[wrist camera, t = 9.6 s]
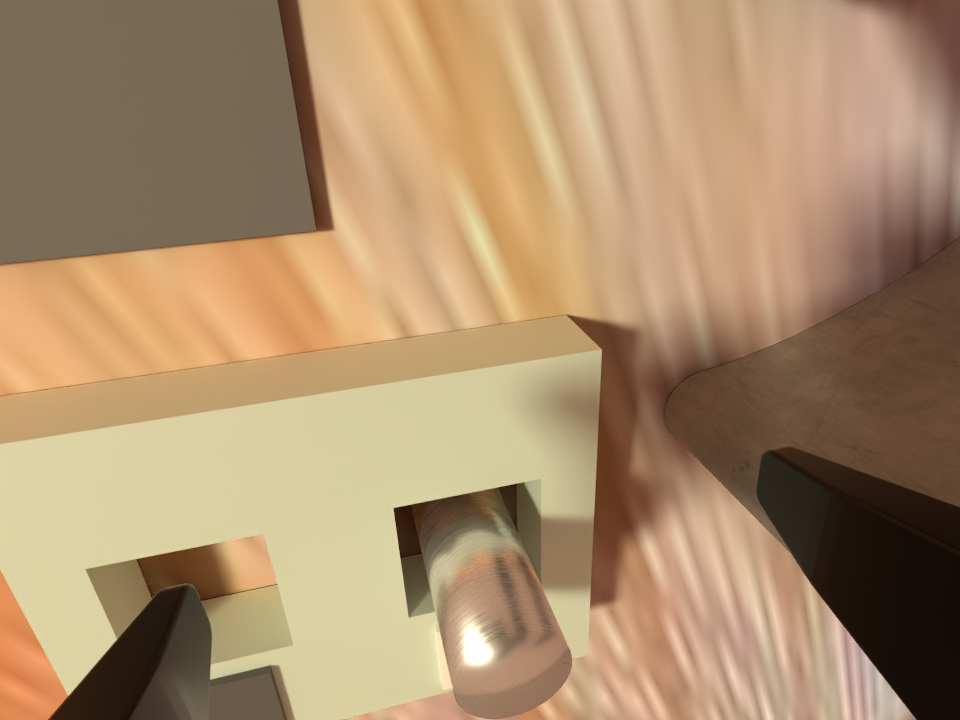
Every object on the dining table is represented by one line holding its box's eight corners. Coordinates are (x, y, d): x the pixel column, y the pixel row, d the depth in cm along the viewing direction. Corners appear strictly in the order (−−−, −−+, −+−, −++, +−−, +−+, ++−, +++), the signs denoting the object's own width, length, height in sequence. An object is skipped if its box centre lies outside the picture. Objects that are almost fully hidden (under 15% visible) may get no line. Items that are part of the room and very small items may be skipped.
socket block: (566, 315, 21) (606, 353, 19) (561, 599, 28) (590, 661, 25) (-8, 397, 18) (-69, 460, 15) (135, 702, 24) (111, 788, 21)
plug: (494, 453, 23) (573, 618, 16) (497, 521, 25) (570, 700, 18) (406, 469, 23) (449, 649, 16) (415, 539, 24) (457, 731, 17)
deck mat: (260, -105, 15) (258, -110, 14) (316, 227, 18) (316, 230, 18) (-243, -106, 13) (-263, -112, 12) (-69, 266, 16) (-80, 272, 16)
